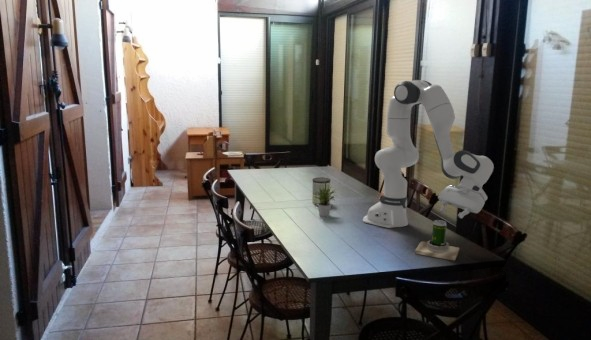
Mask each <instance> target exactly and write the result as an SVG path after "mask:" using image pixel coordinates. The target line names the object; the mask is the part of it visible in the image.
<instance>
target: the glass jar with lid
mask: <svg viewBox="0 0 591 340" xmlns="http://www.w3.org/2000/svg"><path fill="white" fill-rule="evenodd" d="M311 180H312V201H311V203H312V204H313V205H316V206H318V203H320V200H319V199H320V198H319V194H320V192H319V191H320V190H319V187H320V188H321V189H322V190H323V186H324V189H325V193H326V190H327V188H328V186H329V188H330V187H331V178H328V177H315V178H312V179H311ZM318 186H319V187H318ZM330 189H331V188H330ZM316 190H317V191H318V192H319V194H318V193H317V191H316ZM322 192H323V191H322ZM330 192H331V191H330ZM330 192H329V193H330ZM329 193H328V194H329ZM314 196H316V197H318V198H319V199H318V198H315V197H314ZM329 196H331V195H329ZM329 198H331V197H329ZM329 198H328V199H329ZM330 200H331V199H330ZM330 200H329V202H328V203H331V201H330Z"/></svg>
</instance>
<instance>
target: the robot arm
mask: <svg viewBox="0 0 591 340" xmlns="http://www.w3.org/2000/svg"><path fill="white" fill-rule="evenodd" d="M420 105H422V106H423V107H424V110H425V111H426V115H427V117H428V120H429V122H430V125H431V128H432V133H433V136H434V140H435V142H436V143H435V144H436V146H437V149H438V152H439V156H440V158H441V160H440V161H441V162H440V163H441V165H440V166H441V171H442V173H443V175H444V176H445V177H446V178H448V179H451V180H458V179H460V178H461V180H460V181H459V183H458V184H457V185H455V184H449V185H447V186H446V187H445V188H444V189H442V190H441V192H440V193H439V194H438V196H437V199H438V201H439V202H440V203H441V207H440V209H439V210H440V212H441V213H445V212H446V211H447V209H446V207H447V206H448V205H449V206H451V207H455V208H458V209H462V212H459V213H458V214H457V217H458V218H459V219H463V218H464V217H465V216H467V215H469V214H470V213H474V214H479V213H480V212H481V210H482V209H483V207H484V205H485V203H486V201H487V200H488V195H487V194H486V192H485V191H484V189H483V185H484V184H486V183H487V182H488V180H489V179H490V177H491V175H492V174H493V172H494V169H495V167H494V163H493V160H491V159H490V158H489V157H488V156H485V155H476V154H474V153H471V152H470V151H469V150H466V149H465V150H457V152H455V150H454V147H453V144H452V141H451V136H450V135H451V130H452V126H453V124H454V122H455V118H456V117H455V115H456V114H455V111H454V108H453V105H452V103H451V100H450V98H449V97H448V95H447V93H446V92H445V90H444V88H443V87H442V86H441V85H439V84H432V83H431V82H429V81H427V80H420V79H413V80H404V81H401V82H399V83H398V84H396V86H395V87H394V90H393V96H391V97H390V99H389V102H388V106H387V113H386V115H387V116H386V135H387V137H389V138H390V139H391V140H392V146H388V147H384V148H382V149H380V150H378V151H376V153H375V156H374V162H375V166H376V167H377V168H378V169H379V170H381V173H382V175H383V182H384V183H383V192H382V193H381V194H380V195H379V198H378V200H379V201H378V202H377V203H375V204H373V205H372V206H370V208H369V209H368V210H367V214H366V215H365V216H363V218H362V222H363V223H364V224H365V223H366V224H370V225H372V226H378V227H383V228H388V229H393V228H402V227H406V226H408V225H409V222H408V217H407V206H408V196H407V192H408V181H407V179H406V178H405V177H404V176H403V175H402V169H404V168H408V167H412V166H414V165H415V164H417V163H418V162H419V159H420V153H419V150H418V148H416V146H414V143H413V141H412V137H411V112H412V107H414V106H420Z"/></svg>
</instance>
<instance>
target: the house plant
mask: <svg viewBox="0 0 591 340" xmlns="http://www.w3.org/2000/svg"><path fill="white" fill-rule="evenodd" d="M318 187H319V186H318ZM331 188H332V186H330V188H329V186H328V188H327V190H326V193H325V189H324V186H323V190H322V189H321V188H320V187H319V190H320V191H319V192H320V194H319V192H318V191H317V190H316V191H317V193H318V194H319V198H320V199H319V198H318V197H316V196H314V197H315V198H318V199H319V200H320V203H318V205H317V206H318V207H317V208H318V215H319V216H320V217H322V218H323V217H324V218H325V217H329V216H330V213H331V208H332V207H331V206H332V203H331V200H332V201H333V200H334V201H335V197H336V196H337V195H333V196H332V194H335V193H337V191H338V189H337V188H336V189H334V190H332V191H331ZM322 191H323V192H322ZM329 192H330V193H329ZM328 193H329V194H328ZM329 195H330V196H329ZM329 197H330V198H329ZM328 198H329V199H328ZM329 200H330V203H328V202H329Z"/></svg>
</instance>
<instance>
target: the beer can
mask: <svg viewBox="0 0 591 340" xmlns="http://www.w3.org/2000/svg"><path fill="white" fill-rule="evenodd" d="M431 234H432V236H431V240H432V245H434V246H445V242H446V238H447V237H446V235H447V221H445V220H442V219H435V220H433V223H432V233H431Z"/></svg>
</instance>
